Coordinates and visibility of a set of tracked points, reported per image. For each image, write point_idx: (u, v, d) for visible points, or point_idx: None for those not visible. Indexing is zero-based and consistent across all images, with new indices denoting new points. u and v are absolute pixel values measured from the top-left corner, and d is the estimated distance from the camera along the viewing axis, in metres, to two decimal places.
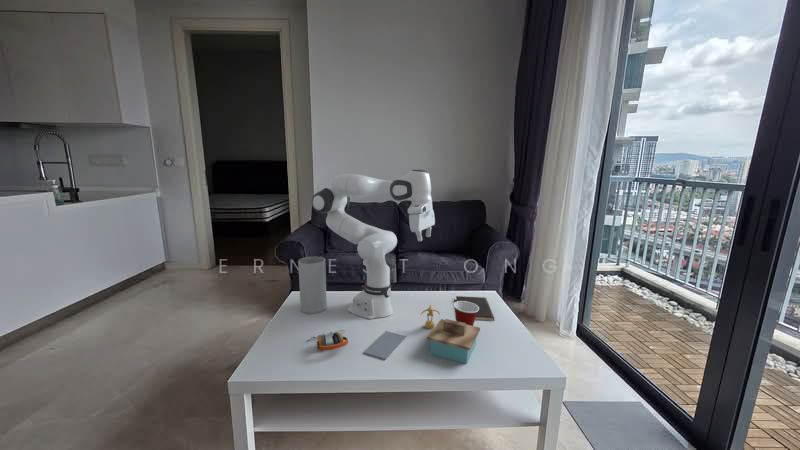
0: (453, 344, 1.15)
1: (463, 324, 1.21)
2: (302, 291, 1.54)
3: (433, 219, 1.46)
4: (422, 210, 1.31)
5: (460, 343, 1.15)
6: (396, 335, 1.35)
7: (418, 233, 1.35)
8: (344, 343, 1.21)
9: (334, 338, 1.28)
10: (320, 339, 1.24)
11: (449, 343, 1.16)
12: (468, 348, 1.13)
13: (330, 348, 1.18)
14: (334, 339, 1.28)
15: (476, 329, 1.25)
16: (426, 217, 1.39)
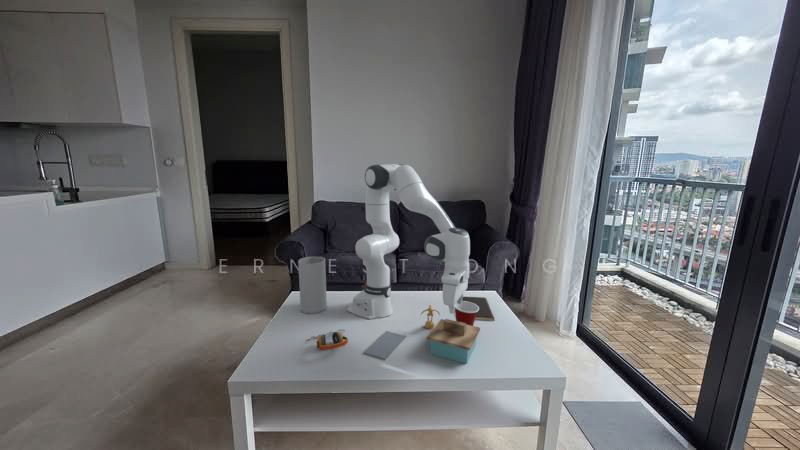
0: (453, 344, 1.15)
1: (463, 324, 1.21)
2: (302, 291, 1.54)
3: (466, 283, 1.26)
4: (459, 281, 1.11)
5: (460, 343, 1.15)
6: (396, 335, 1.35)
7: (451, 305, 1.15)
8: (344, 342, 1.21)
9: (334, 338, 1.29)
10: (320, 338, 1.24)
11: (449, 343, 1.16)
12: (468, 348, 1.13)
13: (330, 347, 1.18)
14: (334, 339, 1.28)
15: (476, 329, 1.25)
16: (460, 284, 1.19)
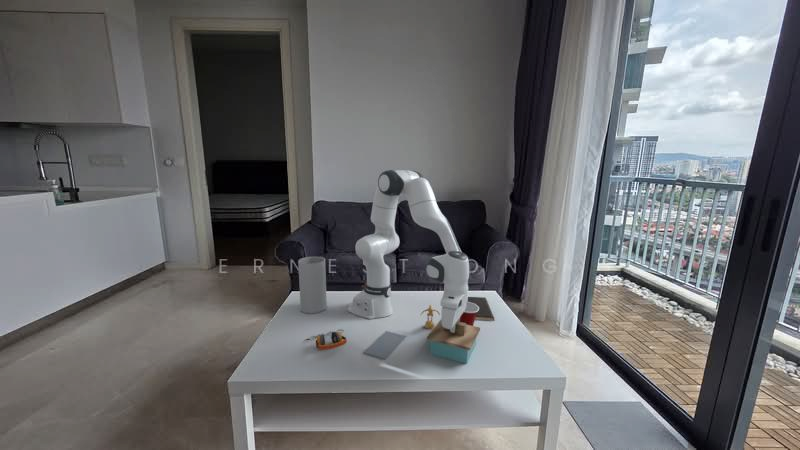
0: (453, 344, 1.15)
1: (463, 324, 1.21)
2: (302, 291, 1.54)
3: (465, 304, 1.28)
4: (458, 305, 1.13)
5: (460, 343, 1.15)
6: (396, 335, 1.35)
7: None
8: (342, 342, 1.21)
9: (333, 337, 1.29)
10: (319, 338, 1.24)
11: (449, 343, 1.16)
12: (468, 348, 1.13)
13: (328, 347, 1.19)
14: (333, 338, 1.29)
15: (476, 329, 1.25)
16: (459, 306, 1.21)
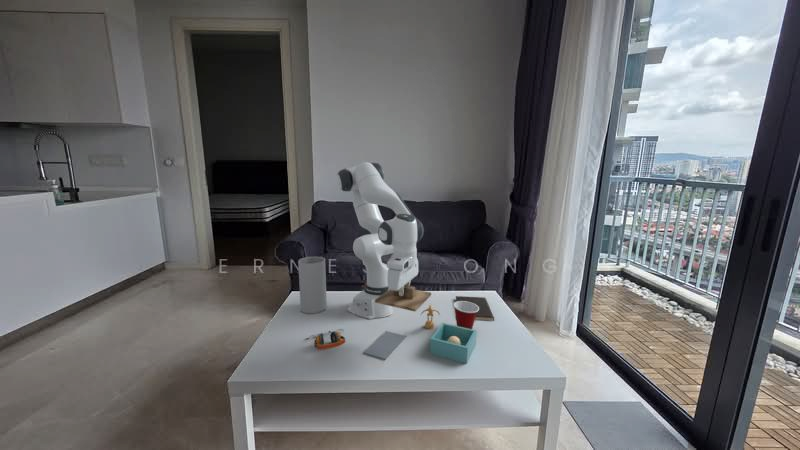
0: (400, 306, 1.15)
1: (412, 288, 1.20)
2: (302, 291, 1.54)
3: (416, 269, 1.27)
4: (404, 266, 1.12)
5: (407, 305, 1.15)
6: (396, 335, 1.35)
7: (400, 288, 1.18)
8: (341, 342, 1.22)
9: (332, 337, 1.29)
10: (318, 338, 1.25)
11: (396, 305, 1.15)
12: (414, 309, 1.12)
13: (327, 347, 1.19)
14: (332, 338, 1.29)
15: (426, 294, 1.25)
16: (408, 270, 1.20)
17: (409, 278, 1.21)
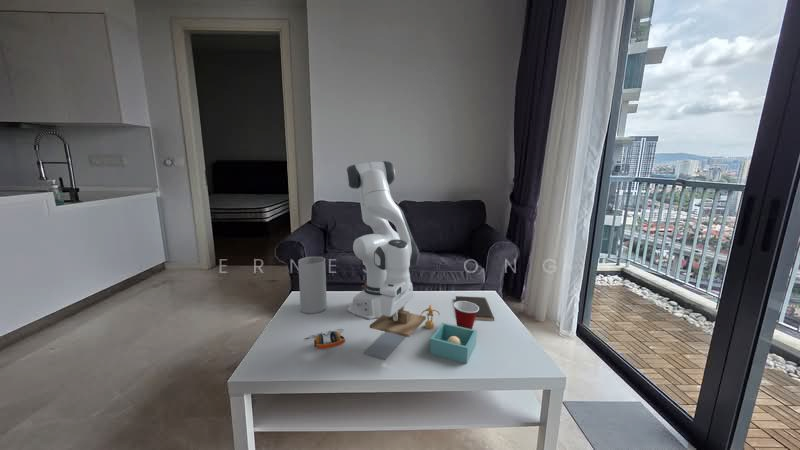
0: (393, 332, 1.16)
1: (406, 312, 1.21)
2: (302, 291, 1.54)
3: (411, 293, 1.28)
4: (396, 292, 1.13)
5: (400, 330, 1.16)
6: (396, 335, 1.35)
7: None
8: (340, 342, 1.22)
9: (332, 337, 1.29)
10: (317, 337, 1.25)
11: (390, 331, 1.16)
12: (407, 335, 1.13)
13: (326, 347, 1.19)
14: (332, 338, 1.29)
15: (421, 317, 1.26)
16: (402, 295, 1.22)
17: (403, 303, 1.22)
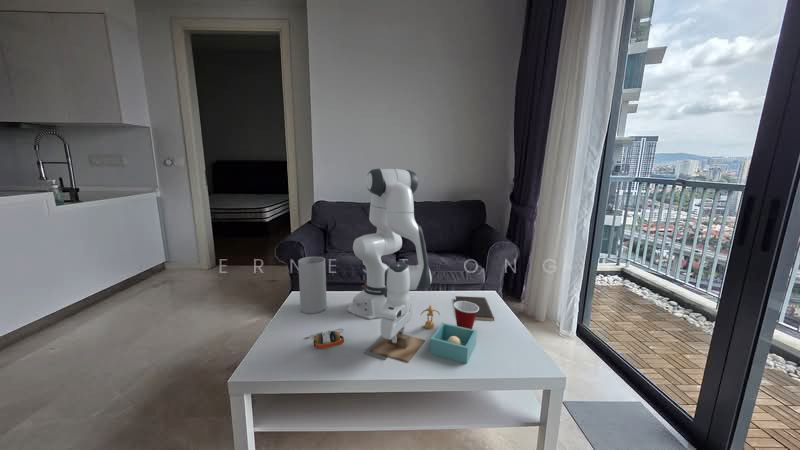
0: (393, 357, 1.18)
1: (406, 337, 1.24)
2: (302, 291, 1.54)
3: (410, 313, 1.30)
4: (396, 316, 1.15)
5: (400, 356, 1.18)
6: None
7: None
8: (340, 342, 1.22)
9: (331, 337, 1.29)
10: (317, 337, 1.25)
11: (390, 356, 1.19)
12: (407, 361, 1.16)
13: (325, 346, 1.19)
14: (331, 337, 1.29)
15: (420, 341, 1.28)
16: (402, 316, 1.23)
17: (403, 324, 1.24)
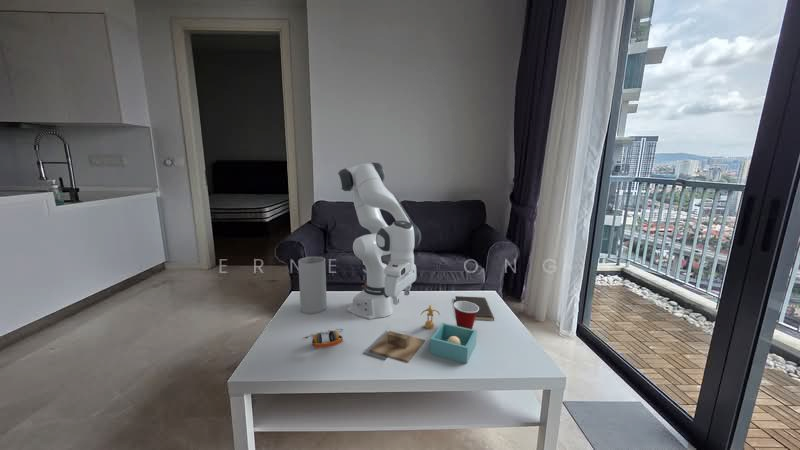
0: (393, 357, 1.18)
1: (406, 337, 1.24)
2: (302, 291, 1.54)
3: (414, 275, 1.29)
4: (400, 273, 1.13)
5: (400, 356, 1.18)
6: None
7: (394, 296, 1.17)
8: (338, 341, 1.22)
9: (330, 336, 1.30)
10: (315, 336, 1.25)
11: (390, 356, 1.19)
12: (407, 361, 1.16)
13: (323, 346, 1.19)
14: (330, 337, 1.29)
15: (420, 341, 1.28)
16: (405, 276, 1.22)
17: (406, 284, 1.23)
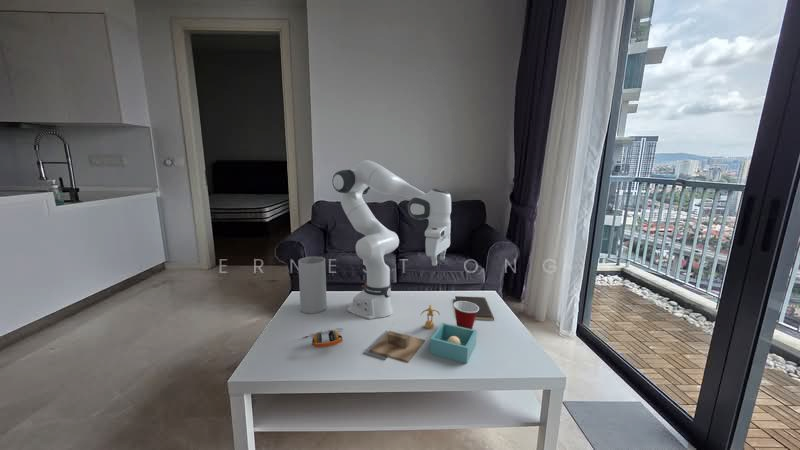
0: (393, 357, 1.18)
1: (406, 337, 1.24)
2: (302, 291, 1.54)
3: (449, 241, 1.38)
4: (440, 234, 1.23)
5: (400, 356, 1.18)
6: None
7: (433, 257, 1.27)
8: (338, 341, 1.22)
9: (330, 336, 1.30)
10: (315, 336, 1.26)
11: (390, 356, 1.19)
12: (407, 361, 1.16)
13: (323, 345, 1.20)
14: (330, 337, 1.30)
15: (420, 341, 1.28)
16: (442, 240, 1.31)
17: (443, 248, 1.32)
